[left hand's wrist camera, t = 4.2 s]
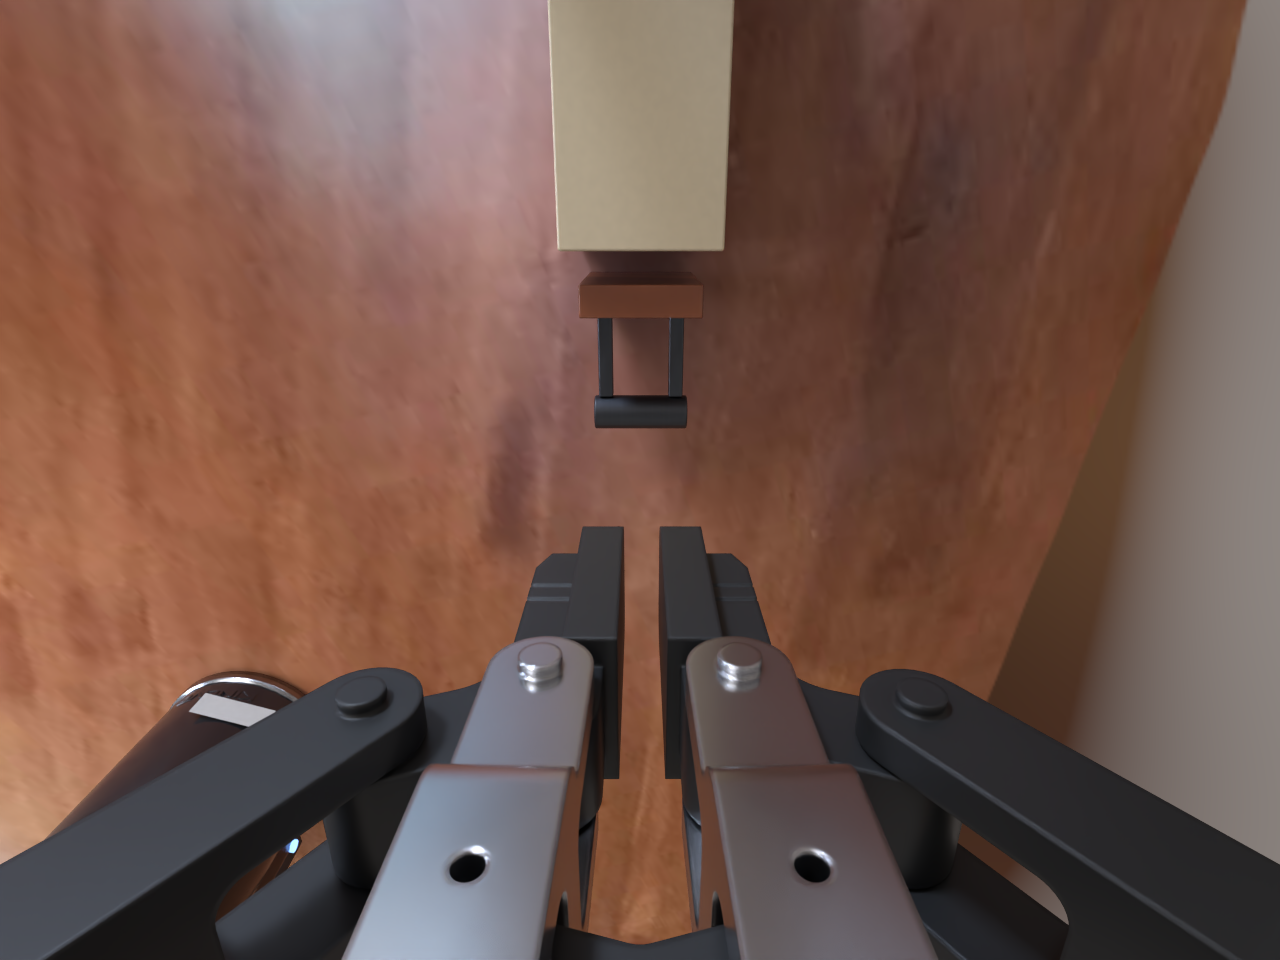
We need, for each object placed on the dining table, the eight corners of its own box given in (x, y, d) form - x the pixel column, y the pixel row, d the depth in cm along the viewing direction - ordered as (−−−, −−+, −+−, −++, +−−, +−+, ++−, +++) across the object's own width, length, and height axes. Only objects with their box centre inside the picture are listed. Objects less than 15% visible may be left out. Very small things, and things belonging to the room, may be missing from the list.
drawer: (688, 410, 33) (698, 452, 27) (593, 410, 33) (583, 452, 27) (705, -267, 25) (726, -424, 19) (576, -267, 25) (556, -424, 19)
